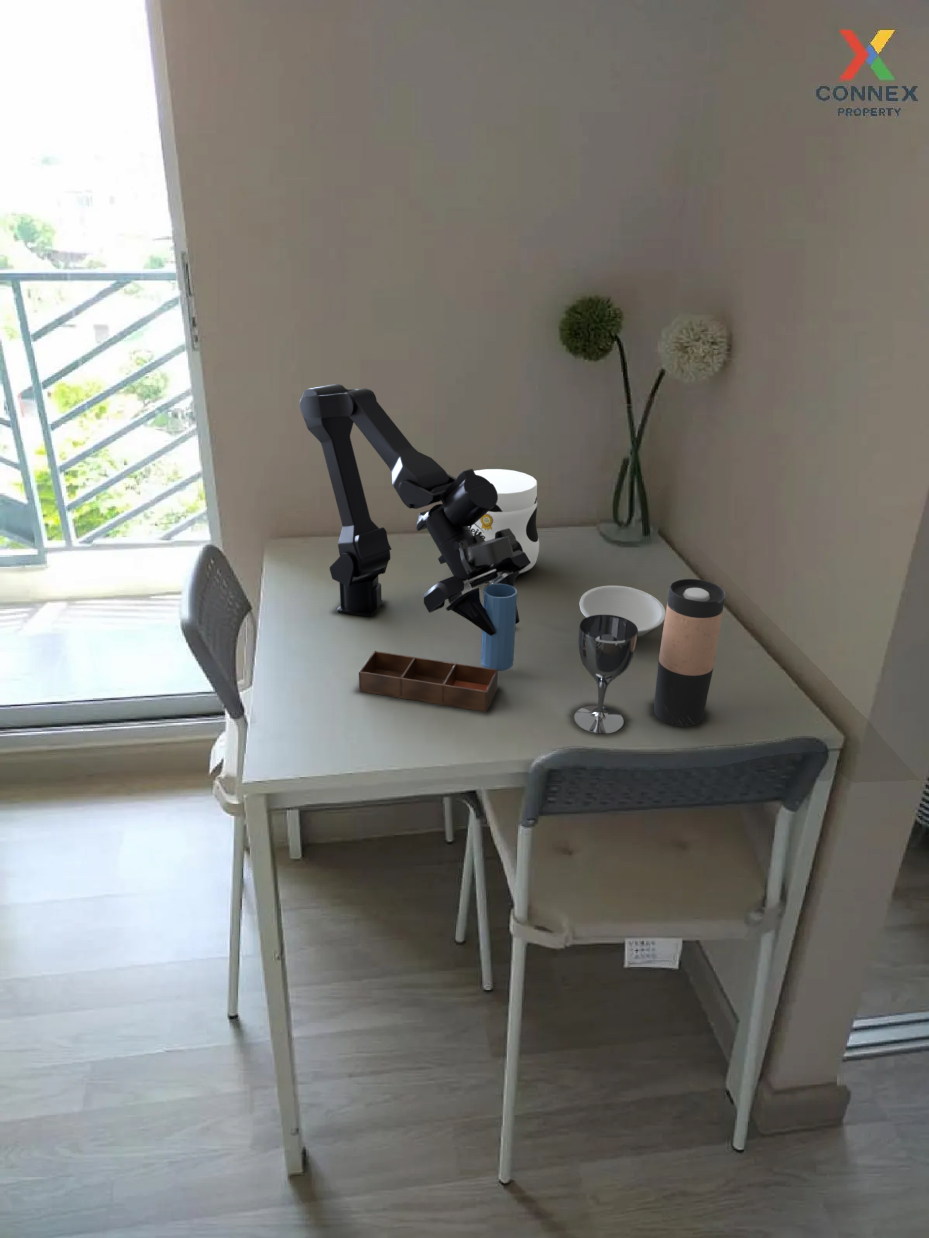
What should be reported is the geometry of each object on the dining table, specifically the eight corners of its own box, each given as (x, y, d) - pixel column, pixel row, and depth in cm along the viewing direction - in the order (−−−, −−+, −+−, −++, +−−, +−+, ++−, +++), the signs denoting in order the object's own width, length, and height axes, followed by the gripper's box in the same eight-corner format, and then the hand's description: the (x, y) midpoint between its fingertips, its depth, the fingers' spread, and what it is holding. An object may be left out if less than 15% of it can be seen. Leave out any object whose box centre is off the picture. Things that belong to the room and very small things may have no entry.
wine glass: (613, 741, 122) (624, 646, 115) (561, 723, 125) (569, 631, 118) (635, 715, 128) (646, 623, 121) (585, 698, 131) (594, 609, 124)
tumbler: (477, 668, 134) (480, 595, 129) (485, 653, 139) (487, 581, 133) (509, 673, 133) (513, 599, 128) (516, 658, 138) (520, 586, 132)
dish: (572, 609, 158) (574, 584, 156) (651, 611, 158) (654, 586, 156) (583, 657, 143) (585, 630, 140) (671, 659, 143) (675, 632, 140)
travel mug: (645, 699, 131) (662, 578, 122) (695, 698, 132) (715, 577, 123) (660, 728, 125) (678, 602, 116) (712, 727, 125) (734, 601, 116)
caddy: (359, 691, 132) (358, 671, 130) (375, 669, 138) (374, 650, 136) (486, 712, 128) (487, 692, 126) (497, 688, 133) (498, 669, 132)
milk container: (437, 576, 170) (437, 487, 162) (470, 545, 185) (472, 463, 177) (521, 592, 165) (525, 501, 156) (549, 559, 179) (554, 474, 171)
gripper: (437, 530, 122) (492, 627, 120) (525, 500, 134) (576, 588, 132) (400, 566, 130) (451, 657, 128) (485, 534, 142) (533, 617, 140)
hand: (505, 628), depth 132 cm, fingers closed on tumbler, 5 cm apart
